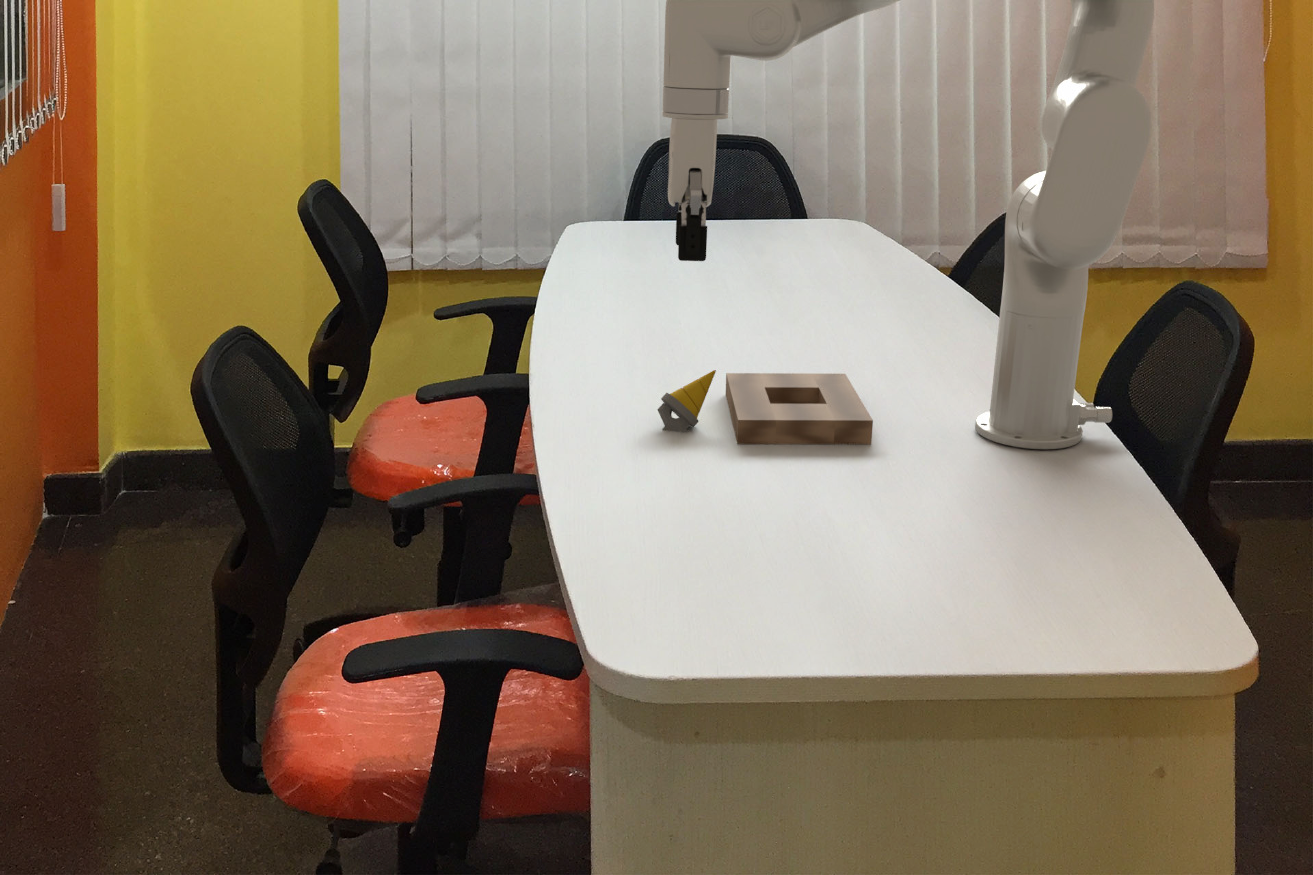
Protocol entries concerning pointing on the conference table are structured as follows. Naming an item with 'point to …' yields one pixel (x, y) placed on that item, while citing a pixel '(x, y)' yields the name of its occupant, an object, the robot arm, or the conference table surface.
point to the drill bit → (685, 404)
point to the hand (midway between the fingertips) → (690, 252)
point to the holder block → (796, 409)
